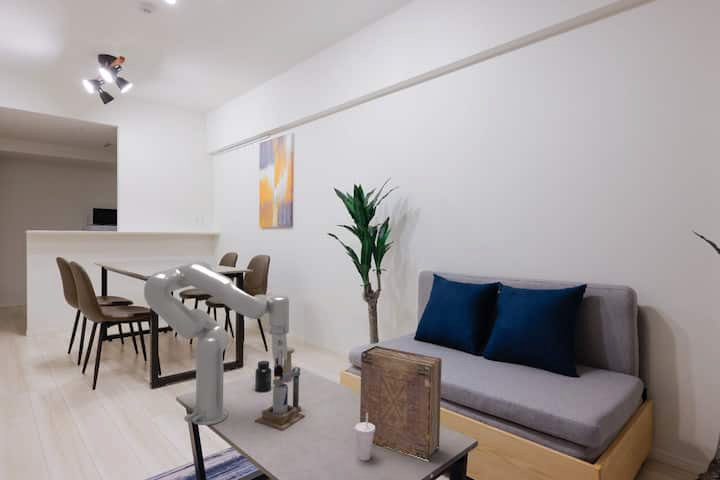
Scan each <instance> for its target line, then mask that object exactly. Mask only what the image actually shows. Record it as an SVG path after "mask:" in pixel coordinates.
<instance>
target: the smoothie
mask: <svg viewBox="0 0 720 480" xmlns="http://www.w3.org/2000/svg"><path fill="white" fill-rule="evenodd" d="M354 431H355V434H356V436H355V437H356V443H357V453H358V459H359V460H360V461H368V460H370V459H371V456H372V449H373V444H374V443H373V436H374V432H375V426H374V425H373V424H371V423H368V413H366V422H362V423H360V422H358V423H357V424H356V425H355V427H354Z"/></svg>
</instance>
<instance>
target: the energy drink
mask: <svg viewBox="0 0 720 480" xmlns="http://www.w3.org/2000/svg"><path fill="white" fill-rule="evenodd" d="M288 392H289V387H288V384H287V383H285V382H284V383H282V384H280V385H279V386H278V385H274V384H273V389H272V406H273V413H275V414H278V415H284V414H285V413H287V407H288V405H289V404H288V401H289V399H288V398H289V397H288V396H289V395H288V394H289V393H288Z"/></svg>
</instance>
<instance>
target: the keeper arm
mask: <svg viewBox="0 0 720 480" xmlns="http://www.w3.org/2000/svg"><path fill="white" fill-rule="evenodd" d="M295 376H299V377H300V376H301V368H300V367H298V366H297V367H296V366H295V367H292V370H291V371H290V372H288V373H286V374H284V375H282V376H275V378H274V379H273V380H272V385H273V386H274V385H278V386H279V385H280V384H282V383H284V384H285V382H288V381H287V380H289V379H293V377H295Z"/></svg>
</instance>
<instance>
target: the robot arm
mask: <svg viewBox="0 0 720 480" xmlns="http://www.w3.org/2000/svg"><path fill="white" fill-rule="evenodd" d="M188 287H193V288H195V289H197V290H199V291H201V292H203V293H206V294H207V295H209V296H211V297H214V298H215V299H217V300H219V301H220V302H221V304H223V305H225V306H226V307H228V308H229V309H231V310H232V311H234V312H236V313H238V314H240V315H241V316H244V317H246V318H248V319H252V320H259V319H261V318H262V317H264V316H265V314H268V334H269V335H271V352H272V353H271V354H272V355H271V356H272V358H273V361H274V366H273V377H274V379H275V376H282V375H283V363H284V360H285V361H286V360H287V347H288V339H287V334H289V333H290V298H289V297H288V296H286V295H278V294H277V295H267V294H255V295H254V296H253V295H250V294H248V293H247V292H245V291H243V290H242V289H240V288H238V287H237V285H235V283H234V281H233V280H232V279H231V278H230V277H228V276H226V275H224V274H222V273H220V272H218V271H216V270H214V269H213V268H212V266H211V265H210V264H209V263H207V262H206V261H201V260H200V261H195V262H191V263H188V264H185V265H181V266H177V267H174V268H170V269H165V270H161V271H158V272H157V271H156V272H155V273H153V274H152V275H150V276H149V277H148V279H147V280H146V282H145V284H144V288H143V296H144V300H145V303H146V304H147V306H149V307H150V309H151V310H152V311H153V312H155V314H157V315H158V316H159V317H160V318H161V319H162V320H163V321H164V322H165V323H166V325H168V326H169V327H170V328H171V329H172V330H174V331H175V332H176V333H177V334H178V335H179V336H180V337H181V338H183V339H186V340H191V339H192V340H193V339H194V338H196V339H198V341H197V342H196V344H195V348H194V358H195V372H196V374H195V376H196V377H195V378H196V379H195V380H196V381H195V384H196V385H195V408H193V411H192V412H191V413H190V414H187V415H185V416H184V421H185V422H189V421H191V422H192V423H193V424H195V425H198V426H210V425H215V424H218V423H222V422H223V421H224V420H226V419H227V417H228V411H227V410H226V408H225V409H224V357H223V354H224V351H225V349H226V348H227V347H228V345H229V342H230V336H229V334H228V332H227V330H226V329H225V328H224V327H222V326H221V325H220V324H219V322H217V320H215V319H214V318H213V317H212V316H211V315H210V314H209V313H207V312H206V311H204V310H203V309H199V308H192V309H190V308H188V307H187V306H186V305H185V304H184V303H183V302H182V301H181V300H179V299H178V298H177V297H175V296H174V295H172V292H175V291H177V290H181V289H185V288H188Z"/></svg>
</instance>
